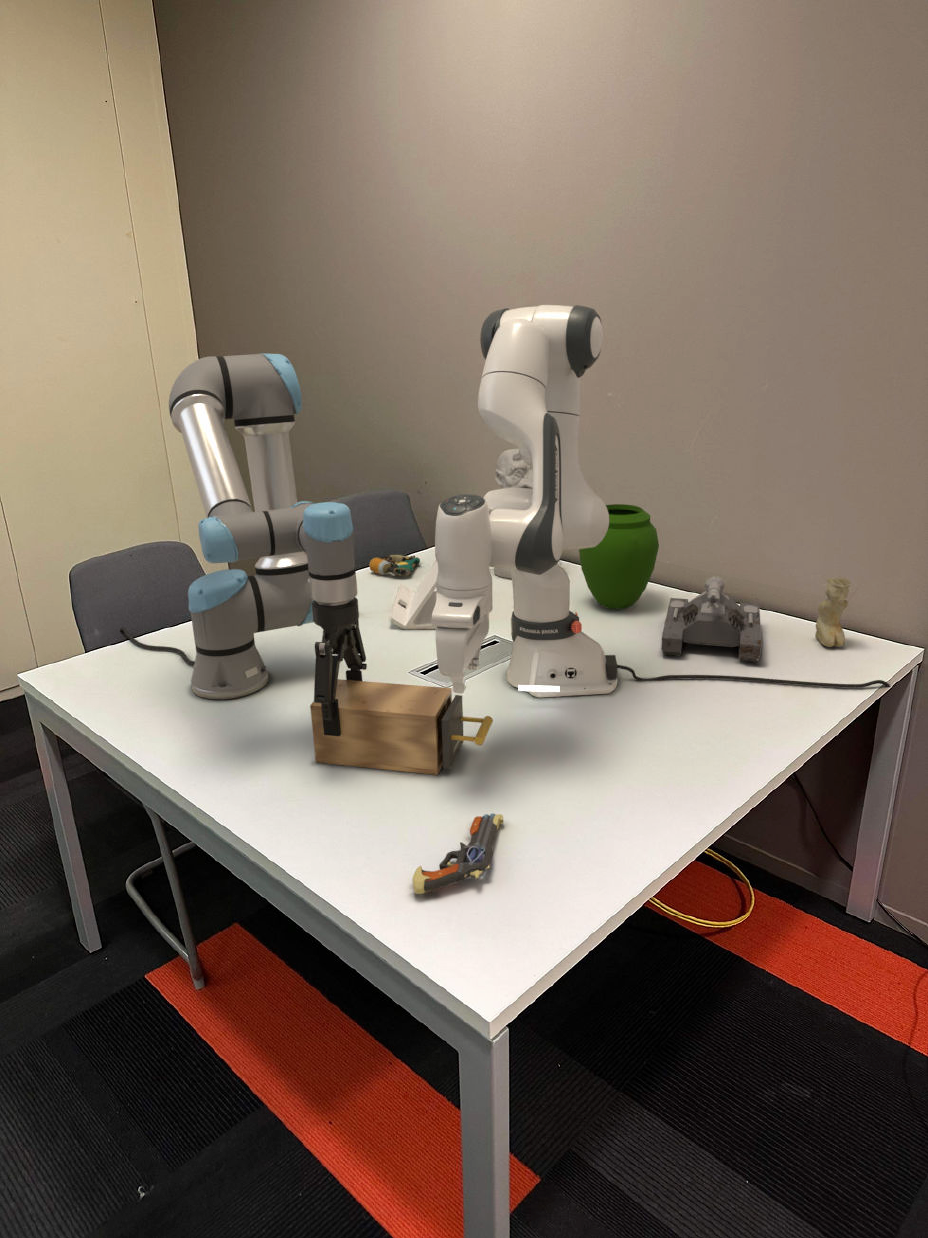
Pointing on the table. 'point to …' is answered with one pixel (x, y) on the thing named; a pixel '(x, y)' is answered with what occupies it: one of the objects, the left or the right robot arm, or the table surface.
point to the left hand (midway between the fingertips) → (344, 719)
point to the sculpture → (832, 613)
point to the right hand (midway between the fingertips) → (466, 679)
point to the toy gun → (462, 857)
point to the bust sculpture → (512, 481)
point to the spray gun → (394, 564)
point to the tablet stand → (416, 603)
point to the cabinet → (383, 727)
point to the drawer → (457, 731)
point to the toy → (713, 622)
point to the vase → (621, 558)
